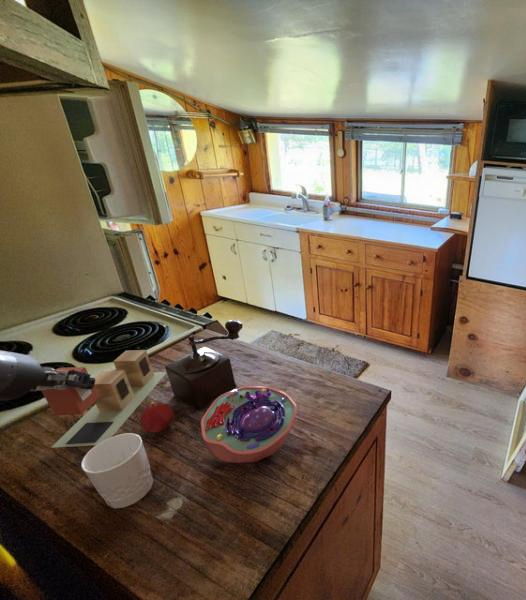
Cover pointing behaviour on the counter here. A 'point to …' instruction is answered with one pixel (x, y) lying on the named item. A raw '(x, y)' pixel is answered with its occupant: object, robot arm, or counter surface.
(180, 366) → the manual coffee grinder
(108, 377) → the maple letter middle
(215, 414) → the cell model
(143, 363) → the maple letter far
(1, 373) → the robot arm
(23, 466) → the counter surface
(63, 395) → the letter block
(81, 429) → the word mat
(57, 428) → the counter surface
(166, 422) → the red rounded lump
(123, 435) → the white cup
